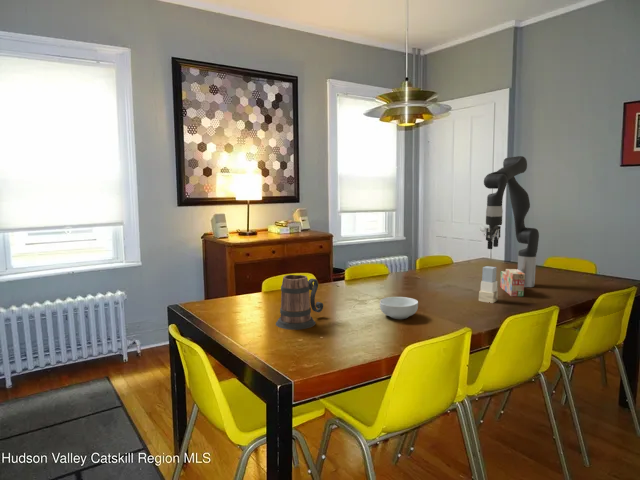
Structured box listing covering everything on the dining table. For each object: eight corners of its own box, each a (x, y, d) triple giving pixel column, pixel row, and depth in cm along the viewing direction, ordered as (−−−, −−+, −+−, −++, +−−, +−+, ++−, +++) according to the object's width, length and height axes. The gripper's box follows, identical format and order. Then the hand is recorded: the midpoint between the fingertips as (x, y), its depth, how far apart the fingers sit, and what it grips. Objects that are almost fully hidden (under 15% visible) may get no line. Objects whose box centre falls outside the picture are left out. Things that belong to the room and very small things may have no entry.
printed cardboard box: (499, 287, 256) (500, 265, 255) (511, 287, 256) (512, 265, 254) (511, 296, 235) (512, 273, 234) (523, 296, 235) (525, 273, 233)
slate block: (485, 279, 229) (486, 266, 228) (495, 281, 226) (496, 267, 225) (482, 281, 226) (482, 267, 225) (492, 282, 222) (492, 268, 221)
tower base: (483, 298, 232) (483, 288, 231) (497, 300, 228) (497, 290, 227) (478, 301, 226) (479, 291, 226) (492, 303, 222) (493, 293, 221)
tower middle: (485, 288, 231) (485, 279, 230) (497, 290, 227) (497, 281, 226) (480, 291, 226) (480, 281, 226) (492, 293, 222) (492, 283, 222)
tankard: (292, 332, 179) (292, 283, 177) (267, 322, 192) (266, 276, 189) (335, 320, 195) (335, 274, 193) (309, 312, 208) (309, 269, 205)
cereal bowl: (391, 309, 212) (392, 294, 211) (424, 315, 202) (424, 300, 201) (372, 317, 199) (372, 301, 198) (405, 325, 189) (406, 308, 188)
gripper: (491, 213, 230) (489, 245, 232) (481, 215, 219) (480, 249, 221) (506, 214, 225) (505, 246, 227) (497, 216, 214) (495, 250, 216)
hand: (492, 247), depth 224 cm, fingers open, 8 cm apart
